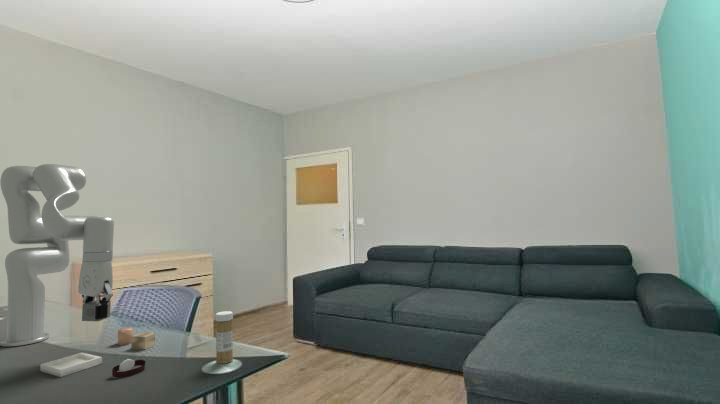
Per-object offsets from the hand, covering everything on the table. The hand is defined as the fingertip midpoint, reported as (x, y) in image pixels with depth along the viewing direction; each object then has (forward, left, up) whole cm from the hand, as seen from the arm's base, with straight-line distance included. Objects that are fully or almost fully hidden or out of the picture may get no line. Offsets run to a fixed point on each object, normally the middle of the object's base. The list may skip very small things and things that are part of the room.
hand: (95, 316), depth 114 cm
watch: (+25, -5, -12) cm, 28 cm away
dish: (+6, -9, -11) cm, 15 cm away
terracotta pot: (-2, +11, -11) cm, 16 cm away
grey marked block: (0, 0, -1) cm, 1 cm away
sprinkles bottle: (+42, +11, -11) cm, 45 cm away
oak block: (+8, +10, -11) cm, 17 cm away
